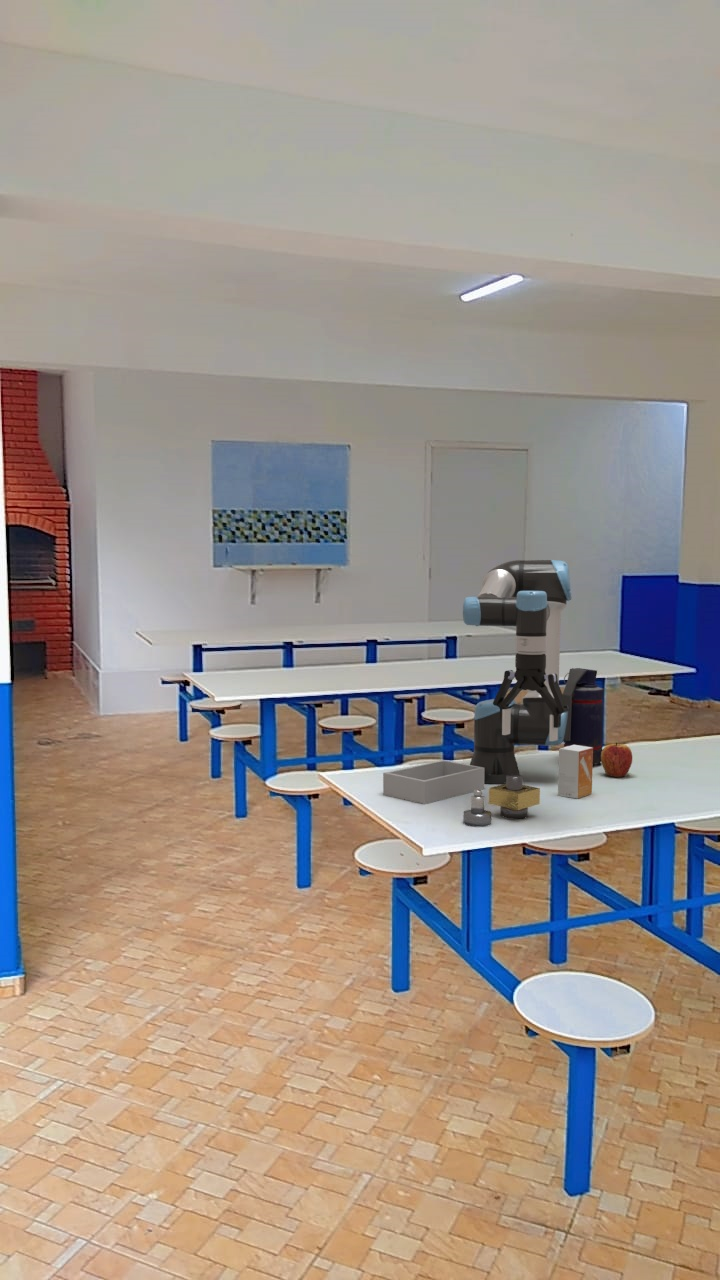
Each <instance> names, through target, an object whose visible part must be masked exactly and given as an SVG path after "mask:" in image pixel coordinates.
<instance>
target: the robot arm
mask: <svg viewBox="0 0 720 1280" xmlns="http://www.w3.org/2000/svg"><path fill="white" fill-rule="evenodd" d="M570 579H571V578H570V570H569V564H567V562H566V561H564V560H555V559H545V560H544V559H540V560H539V559H535V560H532V559H531V560H530V559H529V560H525V559H524V560H523V559H515V560H510V561H506V562H504V563H503V562H502V563H501V564H498V565H496V566H495V567H493V568H492V569H490V570H489V571H488V572H487V573H486V575H485V576H484V577H483V580H482V589H481V590H480V592H479V593H478V595H477V596H476V595H474V596H466V597H465V598H464V600H463V603H462V604H463V605H462V618H463V619H462V620H463V623H464V624H465V625H466V626H475V627H481V626H482V627H484V626H485V627H515V629H516V630H515V651H516V652H517V653H516V654H515V658H514V659H515V661H514V662H515V671H514V670H512V669H509V670H505V671H504V674H503V679H502V683H501V684H500V686H499V688H498V691H497V693H496V695H495V698H492V699H486V700H482V701H479V702H477V704H475V706H474V717H473V721H474V722H473V723H474V727H473V730H474V732H473V733H474V735H473V741H474V742H473V745H474V746H473V754H472V757H471V760H470V761H469V762H470V763H469V765H472V766H478V767H483V768H484V784H498V785H499V784H500V785H503V784H506V776H507V775H521V771H520V769H519V765H518V761H517V759H516V754H515V745H526V746H529V745H530V746H544V747H547V746H553V747H554V746H560V745H561V744H563V743H564V740H563V739H564V735H565V730H566V724H567V718H568V711H569V709H568V706H567V704H566V702H565V699H564V697H563V692H562V690H561V687H560V655H561V654H560V653H561V652H560V648H561V616H562V615H561V614H562V612H563V611H564V609H566V608H567V602H570V601H571V600H572V587H571V580H570ZM514 679H515V680H516V683H514V684H513V686H512V688H511V685H512V682H513V680H514ZM510 688H511V690H510V691H509V689H510ZM508 691H509V692H508ZM522 691H528V692H527V693H526V694H525V695H524V696H523V697H522V703H516V700H515V699H516V697H517V696H519V694H520V692H522Z"/></svg>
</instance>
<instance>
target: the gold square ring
mask: <svg viewBox="0 0 720 1280" xmlns="http://www.w3.org/2000/svg"><path fill="white" fill-rule="evenodd" d="M540 798H541V788H540V787H535V786H531V785H525V784H523V789H522V790H520V791H512V790H507V789H506V783H502V784H500V785H499V784H498V785H496V786H491V787H489V788H488V804H489V805H493V806H496V807H500V806H501V807H506V808H510V809H515V810H520V809H524V808H527V807H528V808H531V807H535V806H537V805H540V802H541V801H540V800H541V799H540Z"/></svg>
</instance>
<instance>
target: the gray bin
mask: <svg viewBox="0 0 720 1280" xmlns="http://www.w3.org/2000/svg"><path fill="white" fill-rule="evenodd" d="M382 781H383V782H382V784H383V785H382V789H383V790H382V792H383V793H382V794H383V795H384V796H389V797H393V798H397V799H400V800H404V799H405V801H409V800H410V802H413V801H414V803H417V802H420V803H419V804H421V803H423V804H422V805H426V804H425V803H427V804H431V803H434V801H435V802H439V801H442V800H446V799H449V798H453V797H458V796H462V795H466V794H471V793H474V790H481V791H482V790H485V783H484V768H483V767H478V766H472V765H470V764H466V763H461V762H456V761H451V760H445V759H442V760H438V761H432V762H428V763H423V764H419V765H418V764H417V765H414V766H409V767H405V768H398V769H395V770H390V771H385V772H383V779H382ZM438 800H439V801H438ZM430 802H431V803H430Z"/></svg>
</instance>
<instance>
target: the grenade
mask: <svg viewBox="0 0 720 1280" xmlns="http://www.w3.org/2000/svg"><path fill="white" fill-rule="evenodd" d="M597 675H598V670H594V669H587V668H580V667H579V668H578V667H576V668H573V667H572V668H570V669H569V672H567V673H565V675H564V677H563V682H564V684H565V686H564V690H563V692H562V694H563V697H564V699H565V702H566V704H567V706H568V709H569V711H568V718H567V724H566V730H565V735H564V739H563V743H564V744H563V748H564V747H567V746H571V745H579V746H586V747H593V765H598V766H601V765H602V762H601V752H602V750H603V744H604V742H603V740H604V736H603V734H604V701H603V700H604V695H605V693H604V691H605V690H604V688H603V687H600V686H599V685H598V684H596V679H597ZM566 678H567V681H566Z"/></svg>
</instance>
